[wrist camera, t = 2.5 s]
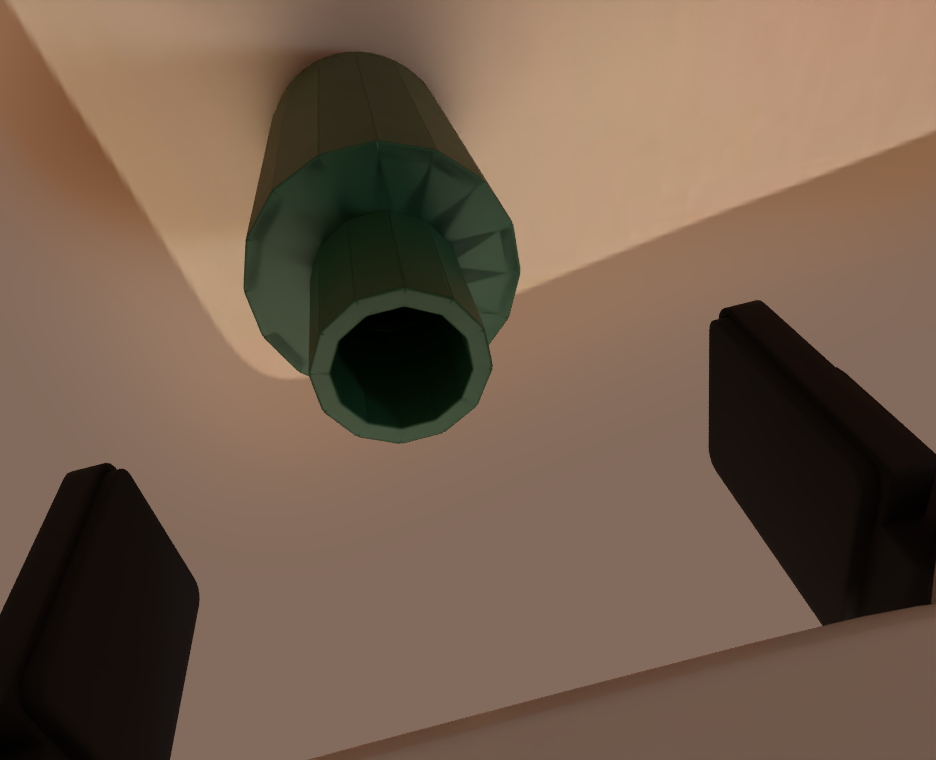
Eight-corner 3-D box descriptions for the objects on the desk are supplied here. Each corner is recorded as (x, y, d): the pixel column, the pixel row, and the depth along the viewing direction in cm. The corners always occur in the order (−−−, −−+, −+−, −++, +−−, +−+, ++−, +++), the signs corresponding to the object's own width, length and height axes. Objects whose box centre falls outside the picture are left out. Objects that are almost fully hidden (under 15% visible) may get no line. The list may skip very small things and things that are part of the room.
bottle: (304, 243, 28) (292, 530, 15) (246, 74, 25) (165, 261, 12) (460, 204, 29) (581, 454, 16) (425, 32, 25) (544, 167, 12)
